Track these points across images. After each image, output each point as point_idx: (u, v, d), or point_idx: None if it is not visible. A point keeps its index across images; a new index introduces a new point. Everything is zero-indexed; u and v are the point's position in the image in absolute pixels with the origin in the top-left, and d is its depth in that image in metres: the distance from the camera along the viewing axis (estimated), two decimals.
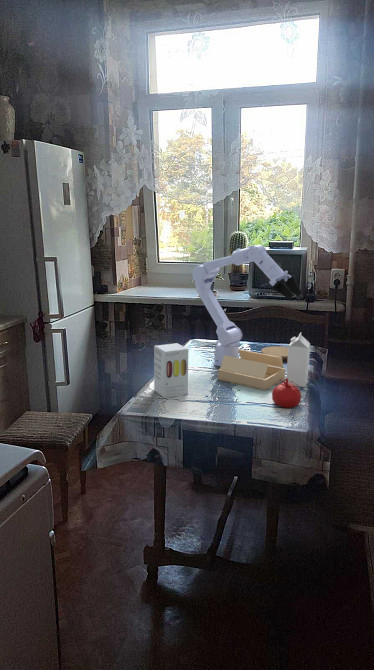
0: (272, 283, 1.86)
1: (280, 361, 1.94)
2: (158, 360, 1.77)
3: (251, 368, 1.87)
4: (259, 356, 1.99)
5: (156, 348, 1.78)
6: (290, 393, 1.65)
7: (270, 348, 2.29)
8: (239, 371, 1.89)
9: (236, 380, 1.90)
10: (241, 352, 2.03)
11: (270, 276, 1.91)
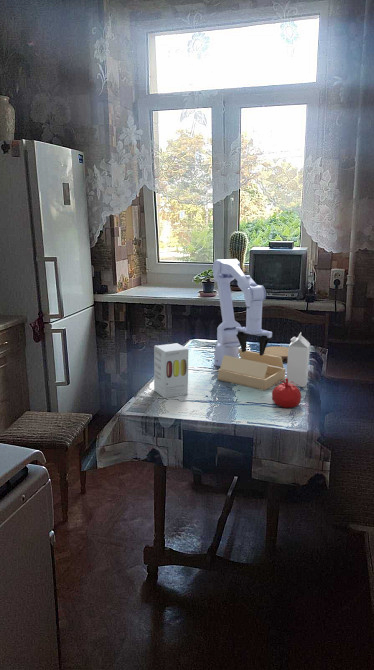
0: None
1: (280, 361, 1.94)
2: (158, 360, 1.77)
3: (251, 368, 1.87)
4: (259, 356, 1.99)
5: (156, 348, 1.78)
6: (290, 393, 1.65)
7: (270, 348, 2.29)
8: (239, 371, 1.89)
9: (236, 380, 1.90)
10: (241, 352, 2.03)
11: None
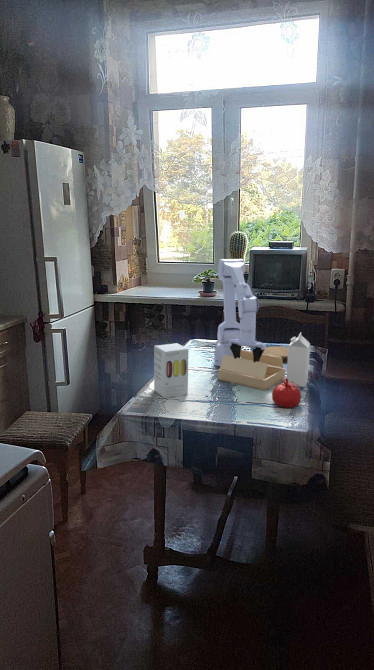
0: None
1: (280, 361, 1.94)
2: (158, 360, 1.77)
3: (251, 368, 1.87)
4: None
5: (156, 348, 1.78)
6: (290, 393, 1.65)
7: (270, 348, 2.29)
8: (239, 371, 1.89)
9: (236, 380, 1.90)
10: (241, 352, 2.03)
11: None
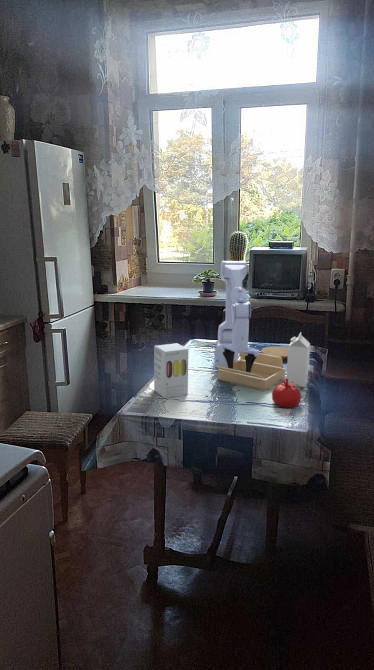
0: None
1: (280, 361, 1.94)
2: (158, 360, 1.77)
3: (246, 374, 1.84)
4: (259, 356, 1.99)
5: (156, 348, 1.78)
6: (290, 393, 1.65)
7: (270, 348, 2.29)
8: None
9: (236, 380, 1.90)
10: None
11: None
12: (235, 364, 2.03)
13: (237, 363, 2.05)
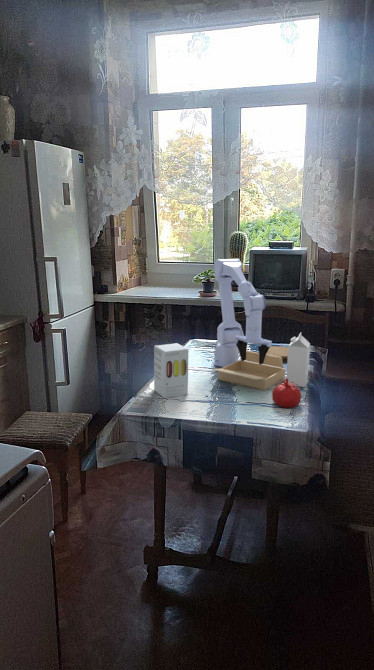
0: None
1: (280, 361, 1.94)
2: (158, 360, 1.77)
3: (246, 376, 1.84)
4: None
5: (156, 348, 1.78)
6: (290, 393, 1.65)
7: (270, 348, 2.29)
8: (238, 373, 1.89)
9: (236, 380, 1.90)
10: None
11: None
12: (235, 364, 2.03)
13: (237, 363, 2.05)
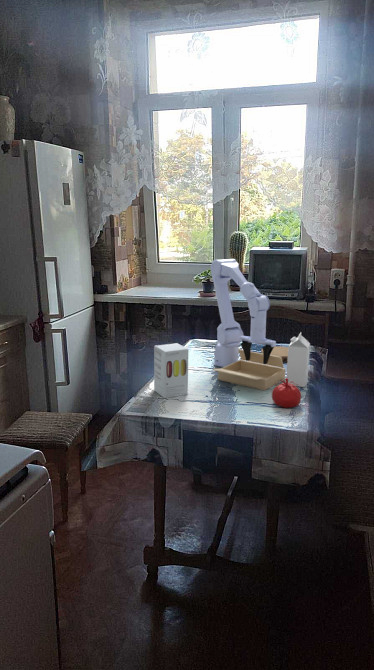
0: None
1: (280, 361, 1.94)
2: (158, 360, 1.77)
3: (246, 376, 1.84)
4: (259, 356, 1.99)
5: (156, 348, 1.78)
6: (290, 393, 1.65)
7: None
8: (238, 373, 1.89)
9: (236, 380, 1.90)
10: (241, 352, 2.03)
11: None
12: (235, 364, 2.03)
13: (237, 363, 2.05)
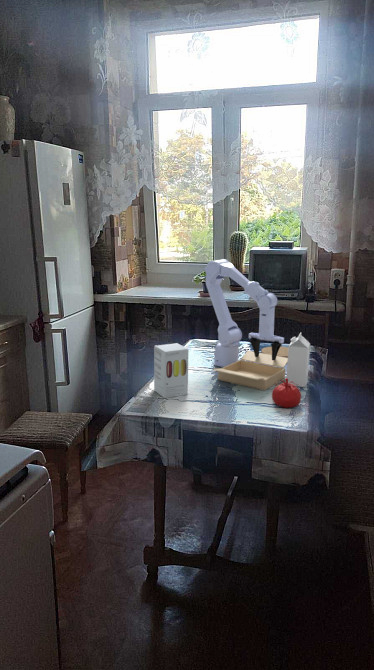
0: None
1: (285, 361, 1.98)
2: (158, 360, 1.77)
3: (246, 376, 1.84)
4: (266, 356, 2.04)
5: (156, 348, 1.78)
6: (290, 393, 1.65)
7: (270, 348, 2.29)
8: (238, 373, 1.89)
9: (236, 380, 1.90)
10: (248, 352, 2.08)
11: None
12: (235, 364, 2.03)
13: (237, 363, 2.05)
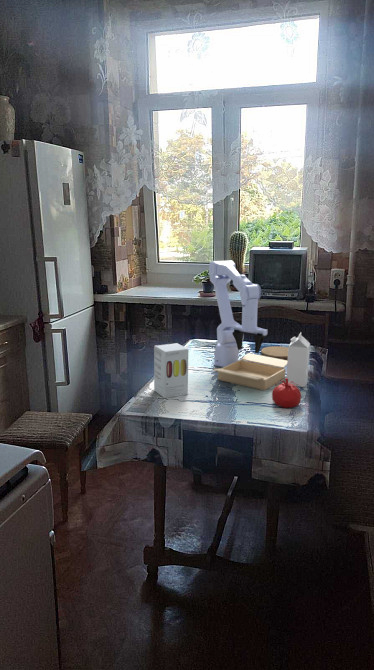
0: None
1: (286, 363, 1.99)
2: (158, 360, 1.77)
3: (246, 376, 1.84)
4: (266, 358, 2.04)
5: (156, 348, 1.78)
6: (290, 393, 1.65)
7: (270, 348, 2.29)
8: (238, 373, 1.89)
9: (236, 380, 1.90)
10: (248, 354, 2.09)
11: None
12: (235, 364, 2.03)
13: (237, 363, 2.05)
